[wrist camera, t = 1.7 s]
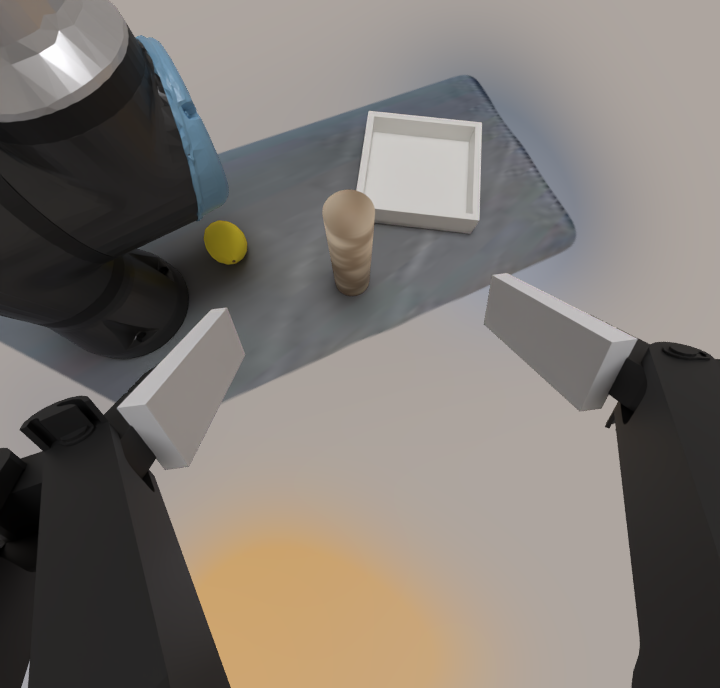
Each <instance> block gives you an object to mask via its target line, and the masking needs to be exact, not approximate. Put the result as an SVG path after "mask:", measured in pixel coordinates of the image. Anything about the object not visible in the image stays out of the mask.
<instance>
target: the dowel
mask: <svg viewBox="0 0 720 688" xmlns="http://www.w3.org/2000/svg"><path fill="white" fill-rule="evenodd" d="M322 213H323V220H324V225H325V230H326V236H327V241H328V246H329V252H330V257H331V262H332V268H333V273H334V278H335V284H336V287H337V288H338V290H339V291H340V292H341V293H343V294H345V295H348V296H357V295H359V294H361V293H363V292H364V291H365V290H366V289H367V287H368V285H369V278H370V266H371V255H372V243H373V231H374V219H375V208H374V205H373V203H372V201H371V200H370V198H369V197H368V196H366V195H365V194H363V193H362V192H359V191H356V190H342V191H339V192H336V193H334V194H333V195H331V196H330V197H329V198H328V199H327V200H326V202H325V204H324V206H323V211H322Z"/></svg>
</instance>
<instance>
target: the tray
mask: <svg viewBox="0 0 720 688" xmlns="http://www.w3.org/2000/svg"><path fill="white" fill-rule="evenodd" d="M481 138H482V123H481V122H471V121H461V120H452V119H442V118H433V117H423V116H413V115H404V114H394V113H384V112H375V111H369V113H368V119H367V126H366V132H365V139H364V145H363V152H362V158H361V164H360V171H359V177H358V184H357V190H356V191H359V192H362V193H363V194H365V195H366V196H368V197H369V198H370V200H371V201H372V203H373V205H374V208H375V219H374V223H380V224H389V225H398V226H406V227H415V228H424V229H433V230H441V231H450V232H459V233H468V234H471V233H472V231H473V229H474V228H475V226H476V225H477V223H478V222H479V214H480V176H481Z"/></svg>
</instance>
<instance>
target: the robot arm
mask: <svg viewBox="0 0 720 688" xmlns="http://www.w3.org/2000/svg"><path fill="white" fill-rule="evenodd" d="M228 193H229V187H228V182H227V179H226V176H225V173H224V170H223V167H222V165H221V162H220V160H219V157H218V155H217V153H216V150H215V148H214V146H213V143H212V141H211V139H210V137H209V134H208V132H207V130H206V128H205V126H204V124H203V122H202V119H201V118H200V116H199V115H198V114H197V112H196V108H195V106H194V104H193V102H192V100H191V97H190V95H189V92H188V90H187V88H186V86H185V84H184V82H183V80H182V78H181V76H180V75H179V73H178V71H177V69H176V67H175V66H174V63H173V62H172V60H171V58H170V57H169V55H168V54H167V52H166V50H165V49H164V47H163V46H162V45H161V43H160V42H159V41H157V40H155V39H154V38H146V37H144V36H142V35H141V36H137V37H136V38H135V37H134V35H133V34H132V32H131V30H130V29H129V27H128V25H127V24H126V22H125V20H124V18H123V17H122V15H121V14H120V12H119V11H118V9H117V8H116V7H115V6H114V5H113V4H112V3H111V2H110V1H109V0H0V315H1V316H5V317H9V318H13V319H17V320H22V321H26V322H30V323H34V324H38V325H41V326H45V327H48V328H50V329H52V330H53V331H55V332H57V333H58V334H60V335H61V336H63V337H65V338H66V339H68V340H70V341H71V342H73V343H74V344H76V345H78V346H79V347H81V348H83V349H85V350H87V351H89V352H92V353H94V354H98V355H103V356H107V357H112V358H120V359H126V358H134V357H139V356H142V355H145V354H148V353H150V352H152V351H154V350H156V349H158V348H159V347H161V346H162V345H163V344H165V343H166V342H167V341H168V340H169V339H170V338H171V337H172V336H173V335H174V334H175V333H176V331H177V330H178V329H179V327H180V325H181V324H182V322H183V320H184V317H185V315H186V312H187V307H188V290H187V286H186V283H185V281H184V279H183V277H182V276H181V275H180V273H179V272H178V271H177V270H176V269H175V268H174V267H172V266H171V265H170V264H168V263H167V262H166V261H164V260H163V259H161V258H160V257H158V256H156V255H154V254H152V253H149V252H146V251H143V250H140V249H137V248H139V247H141V246H143V245H145V244H147V243H149V242H151V241H154V240H156V239H158V238H160V237H162V236H164V235H166V234H168V233H171V232H173V231H175V230H177V229H179V228H181V227H183V226H185V225H187V224H190V223H192V222H194V221H200V219H202V218H203V216H204V215H205V214H207V213H209V212H211V211H213V210H214V209H216V208H218V207H220V206H222V205H223V204H224V203H225V201H226V199H227V197H228ZM484 325H485V326H486V327H488V328H489V329H490V330H491V331H492V332H493V333H494V334H495V335H496V336H497V337H498V338H500V339H501V340H502V341H503V342H504V343H505V344H506V345H507V346H508V347H509V348H511V349H512V350H513V351H514V352H515V353H516V354H517V355H518V356H519V357H520V358H522V359H523V360H524V361H525V362H526V363H527V364H528V365H529V366H530V367H531V368H533V369H534V370H535V371H536V372H537V373H538V374H539V375H540V376H541V377H542V378H544V379H545V380H546V381H547V382H548V383H549V384H550V385H551V386H552V387H553V388H554V389H556V390H557V391H558V392H559V393H560V394H561V395H562V396H564V397H565V399H567V400H568V401H569V402H570V403H571V404H572V405H573V406H574V407H575V408H577V409H578V410H579V411H587V410H594V409H601V408H602V406H603V404H604V403H605V401H606V399H607V397H608V395H611V396H612V397H613V398H615V399H616V400H617V401H618V403H617V405H616V407H615V408H614V410H613V412H612V414H611V416H610V417H609V420H608V421H607V423H606V426H605V427H607V428H610V426H611V424H614V423H615V424H616V433H617V442H618V451H619V460H620V469H621V477H622V486H623V495H624V504H625V512H626V521H627V530H628V538H629V548H630V556H631V565H632V574H633V583H634V591H635V600H636V609H637V617H638V627H639V636H640V650H639V656H638V659H637V662H636V665H635V669H634V671H633V678H632V688H720V359H714V358H713V357H712V356H711V355H709V354H708V353H706V352H704V351H702V350H699V349H697V348H694V347H691V346H687V345H683V344H678V343H671V342H655V343H653V344H648V343H646V342H644V341H642V340H640V339H638V338H636V337H634V336H632V335H630V334H628V333H626V332H624V331H622V330H620V329H618V328H615V327H614V326H612V325H610V324H608V323H606V322H603V321H602V320H600V319H598V318H596V317H594V316H592V315H589V314H587V313H585V312H583V311H581V310H579V309H577V308H575V307H573V306H571V305H569V304H567V303H565V302H563V301H561V300H559V299H557V298H555V297H553V296H551V295H549V294H547V293H545V292H543V291H541V290H539V289H537V288H535V287H533V286H531V285H529V284H527V283H525V282H523V281H521V280H519V279H517V278H515V277H513V276H511V275H509V274H507V273H505V274H497V275H492V278H491V284H490V290H489V296H488V303H487V309H486V314H485V320H484ZM244 356H245V353H244V350H243V347H242V345H241V342H240V340H239V337H238V334H237V332H236V329H235V326H234V324H233V321H232V319H231V316H230V313H229V311H228V308H219V309H211V310H210V311H209V312H208V313H207V314H206V315H205V317H204V318H203V319H202V320H201V321H200V322H199V323H198V324H197V325H196V326H195V327H194V328H193V329H192V330H191V331H190V332H189V333H188V334H187V335H186V336H185V337H184V338H183V339H182V340H181V342H180V343H179V344H178V345H177V346H176V347H175V348H174V349H173V350H172V351H171V352H170V353H169V354H168V355H167V356H166V357H165V358H164V359H163V360H162V361H161V362H160V363H159V364H158V365H157V366H155V367H154V368H152V369H151V370H149V371H148V372H146V373H145V374H144V375H143V376H142V377H141V378H140V379H139V380H138V381H137V382H136V383H135V385H133V386H132V387H131V388H130V389H129V390H128V393H125V394H124V395H123V396H122V397H121V398H120V399H119V400H118V401H117V402H116V403H115V404H114V405H113V406H112V407H111V408H110V409H109V410H108V411H107V412H106V413H105V414H104V415H103V414H102V413H101V412H100V410H99V409H98V408H97V407H96V406H95V404H94V403H93V402H92V401H91V400H90V399H89V398H88V397H87V396H76V397H71V398H67V399H65V400H62V401H59V402H56V403H54V404H52V405H50V406H48V407H46V408H44V409H42V410H41V411H39V412H37V413H36V414H34V415H32V416H31V417H30V418H29V419H28V420H27V421H25V422H24V423H23V425H22V426H21V428H20V431H21V432H23V433H24V434H25V435H26V436H27V437H28V438H29V439H31V441H33V442H34V443H35V444H36V445H37V446H38V447H39V448H40V449H41V450H43V451H42V452H39V453H36V454H33V455H30V456H27V457H24V458H21V459H20V458H19V457H18V456H16V455H15V454H14V453H13V452H12V451H10V450H9V449H8V448H0V688H21V686H22V683H23V679H24V676H25V673H26V670H27V667H28V664H29V661H30V668H29V682H28V688H231V687H230V684H229V682H228V679H227V676H226V673H225V671H224V668H223V665H222V662H221V660H220V657H219V654H218V651H217V648H216V645H215V643H214V640H213V638H212V635H211V632H210V629H209V626H208V623H207V621H206V618H205V615H204V612H203V610H202V607H201V604H200V601H199V599H198V596H197V593H196V590H195V587H194V584H193V582H192V579H191V576H190V573H189V571H188V568H187V565H186V562H185V560H184V557H183V554H182V551H181V548H180V546H179V543H178V541H177V537H176V535H175V532H174V529H173V526H172V523H171V521H170V518H169V515H168V513H167V510H166V507H165V504H164V502H163V499H162V496H161V493H160V490H159V487H158V485H157V482H156V479H155V476H154V475H153V474H152V473H151V471H150V470H149V468H150V467H151V465H152V464H153V462H154V461H155V459H157V460H158V462H159V463H160V464H161V465H162V467H163V468H164V469H165V470H168V469H175V468H182V467H189V466H190V464H191V462H192V460H193V457H194V456H195V454H196V452H197V450H198V448H199V446H200V444H201V441H202V440H203V438H204V436H205V434H206V432H207V430H208V428H209V426H210V424H211V422H212V420H213V418H214V416H215V414H216V412H217V410H218V408H219V406H220V404H221V402H222V400H223V398H224V396H225V394H226V392H227V390H228V388H229V386H230V384H231V382H232V380H233V378H234V376H235V374H236V372H237V370H238V368H239V366H240V364H241V362H242V360H243V358H244Z"/></svg>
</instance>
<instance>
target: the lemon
mask: <svg viewBox="0 0 720 688" xmlns="http://www.w3.org/2000/svg"><path fill="white" fill-rule="evenodd" d="M204 242H205V247H206V249H207V251H208V252H209V254H210V255H211V257H212V258H214V259H215V260H217V261H218V262H220V263H224V264H227V265H230V264H236V263H238V262H239V261H240V260H242V259H243V258H244V256H245V254H246V252H247V241H246V238H245V236H244V233H243V232H242V231H241V230H240V229H239V228H238V227H237V226H236V225H234V224H232V223H230V222H227V221H220V220H219V221H216V222H213V223H211V224H210V225H209V226H208V227H207V228H206V229H205V233H204Z"/></svg>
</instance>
